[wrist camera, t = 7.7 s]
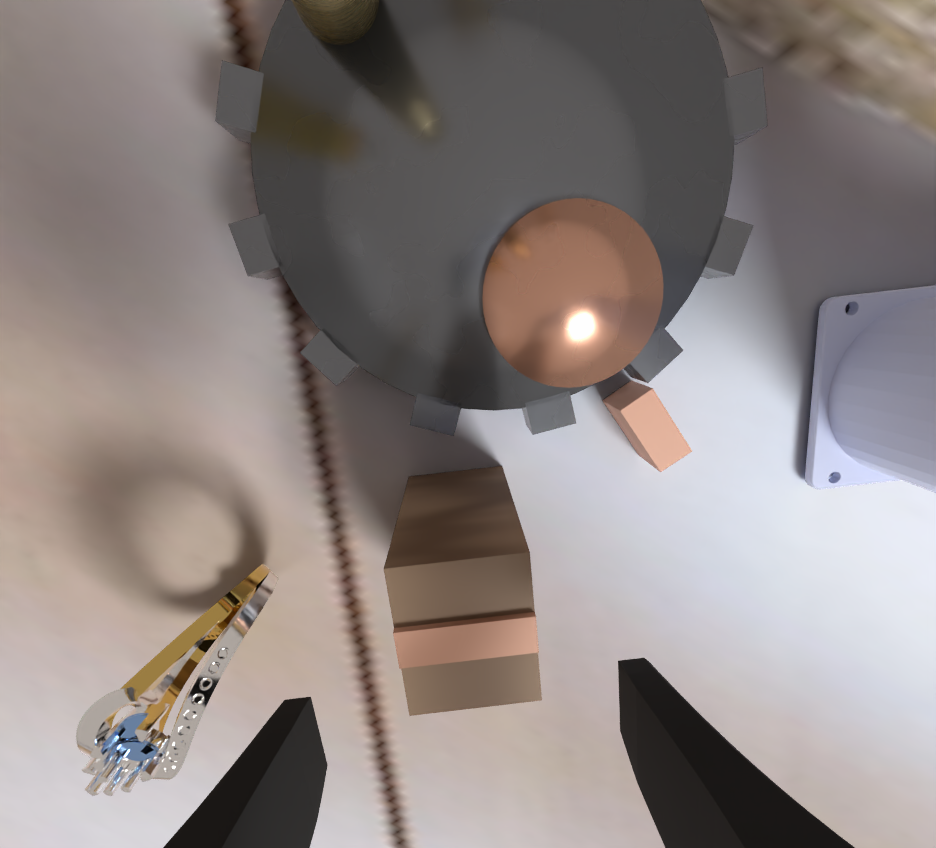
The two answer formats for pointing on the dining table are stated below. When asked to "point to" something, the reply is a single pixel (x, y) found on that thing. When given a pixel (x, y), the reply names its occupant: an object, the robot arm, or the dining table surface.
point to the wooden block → (462, 594)
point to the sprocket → (491, 189)
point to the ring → (168, 694)
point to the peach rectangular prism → (647, 425)
